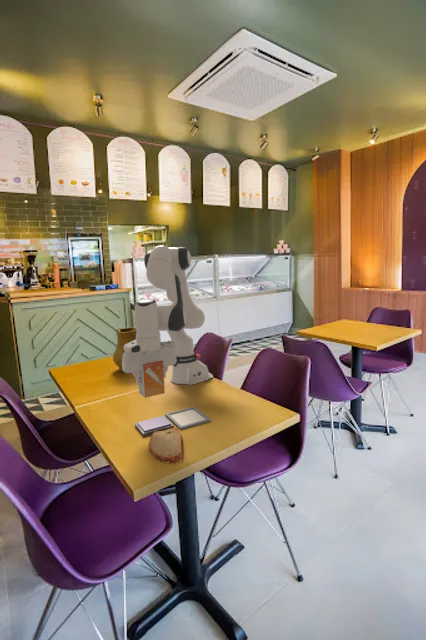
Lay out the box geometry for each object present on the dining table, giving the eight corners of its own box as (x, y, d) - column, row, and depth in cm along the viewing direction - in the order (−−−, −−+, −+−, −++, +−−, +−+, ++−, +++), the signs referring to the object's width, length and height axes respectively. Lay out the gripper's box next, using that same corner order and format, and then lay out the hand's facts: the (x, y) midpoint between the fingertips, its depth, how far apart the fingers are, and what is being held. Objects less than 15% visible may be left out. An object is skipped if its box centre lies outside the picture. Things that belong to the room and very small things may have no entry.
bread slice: (175, 467, 109) (175, 456, 108) (131, 453, 118) (130, 443, 117) (205, 441, 124) (205, 431, 124) (164, 430, 133) (163, 421, 132)
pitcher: (133, 362, 225) (131, 324, 220) (150, 369, 212) (147, 329, 206) (108, 369, 214) (105, 329, 208) (124, 377, 200) (120, 334, 195)
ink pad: (164, 418, 142) (163, 414, 142) (174, 428, 134) (173, 424, 134) (135, 426, 137) (134, 422, 136) (143, 436, 128) (143, 432, 128)
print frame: (193, 408, 152) (193, 406, 151) (210, 421, 139) (210, 419, 139) (165, 415, 145) (165, 413, 145) (180, 429, 132) (180, 427, 132)
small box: (145, 398, 129) (142, 363, 127) (138, 393, 134) (136, 360, 132) (165, 393, 133) (163, 359, 131) (158, 388, 138) (156, 356, 136)
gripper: (171, 338, 138) (173, 372, 140) (119, 346, 128) (122, 383, 130) (178, 341, 132) (180, 377, 135) (123, 349, 123) (126, 387, 125)
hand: (151, 380), depth 132 cm, fingers closed on small box, 8 cm apart
